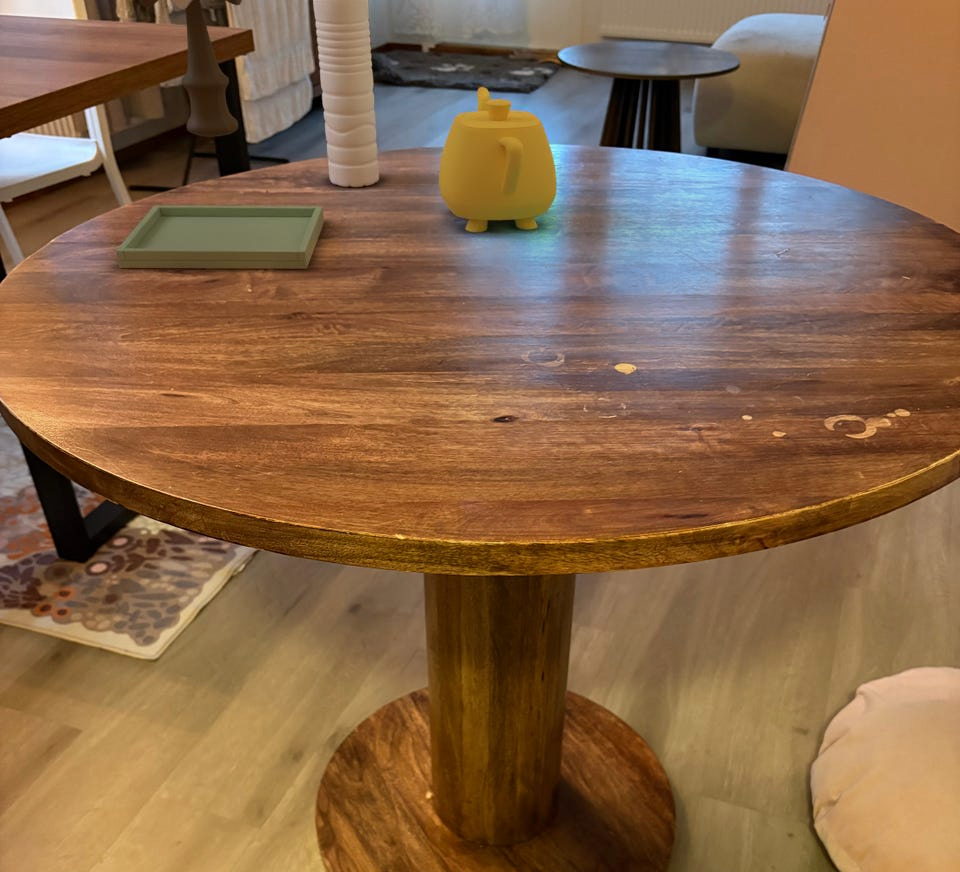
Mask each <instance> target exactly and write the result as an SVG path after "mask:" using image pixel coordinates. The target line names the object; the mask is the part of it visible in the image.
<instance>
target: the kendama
mask: <svg viewBox="0 0 960 872" xmlns="http://www.w3.org/2000/svg"><path fill="white" fill-rule="evenodd" d="M138 1H139V4H140V5H141V6H142V7H143V8H151V7H153V6H155V4H157V2H159V1H160V0H138ZM225 1H226V2H227V3H229V4H230V5H234V6H240V5H241V3H242V1H243V0H225ZM184 10H185V21H186V39H187V40H186V41H187V70H186V73H185V75H183V77H182V78H181V85H182V86H183V87H184V89H186V92H187V94H188V97H189V99H190V100H189V101H190V117H189V118H188V120H187V122H186V130H187V131H188V132H189V133H191V134H193V135H195V136H199V137H207V138H211V137H212V138H214V137H223V136H227V135H230V134H233V133H235V132H236V131H238V129H239V122H238V120H237V119H236V118H235V117H234V116H233V115H232V114H231V113H230V111H229V107H228V104H227V96H226V91H227V90H226V89H227V87H228V86H229V83H230V79H229V76H227V75H226V74H224V72H223V71H222V69H221V68H220V66H219V64H218V61H217V58H216V55H215V52H214V48H213V44H212V42H211V41H212V40H211V37H210V35H209V31H208V27H207V23H206V19H205V15H204V10H203V6H202V3H201V0H193V1H192V2H191V4H190V5H189V7H187V8H186V9H184Z"/></svg>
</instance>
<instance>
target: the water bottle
mask: <svg viewBox="0 0 960 872" xmlns="http://www.w3.org/2000/svg"><path fill="white" fill-rule="evenodd" d="M312 3H313V12H314V19H315V28H316V30H315V33H316V43H317V51H318V60H319V61H318V65H319V68H320V69H319V75H320V76H319V78H320V87H321V90H322V93H321V100H322V107H323V109H324V111H323V119H324V121H325V123H324V132H325V139H326V142H327V143H326V153H327V159H328V162H327V163H328V165H327V167H328V177H329V181H330V182H331V184H333V185H337V186H339V187H345V188H348V187H352V188H361V187H365V186H366V187H368V186H372V185H374V184H375V183H377V182H379V179H380V170H379V160H378V143H377V128H376V112H375V109H374V108H375V94H374V91H373V90H374V75H373V69H372V67H373V63H372V53H371V52H372V51H371V50H372V46H371V37H370V36H371V30H370V21H369V19H370V7H369V0H312Z"/></svg>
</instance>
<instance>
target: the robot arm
mask: <svg viewBox="0 0 960 872" xmlns="http://www.w3.org/2000/svg"><path fill="white" fill-rule="evenodd" d="M171 1H172V3H174V5H176V7H177V8H179V10H185V9H186V8H187V7H189V5H190V4H191V2H192V1H193V0H171Z"/></svg>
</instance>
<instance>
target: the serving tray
mask: <svg viewBox="0 0 960 872" xmlns="http://www.w3.org/2000/svg"><path fill="white" fill-rule="evenodd" d="M324 224H325V216H324V207H323V205H179V204H177V205H172V204H171V205H170V204H169V205H164V204H163V205H161V204H160V205H159V204H155V205H153V206H152V207H151V208H150V209H149V211H148V212H147V213H146V214H145V215H144V217H143V218H142V219H141V220H140V222H138V224H137V225H136V226H135V227H134V229H133V230H132V231H131V232H130V233H129V234H128V235H127V237H126V238H125V239H124V240H123V242H121V243H120V245H119V246H118V247H117V248H116V250H115V253H116V254H115V255H116V258H117V263H118V267H119V268H120V269H225V270H226V269H230V270H231V269H234V270H235V269H237V270H238V269H241V270H242V269H243V270H244V269H245V270H246V269H249V270H250V269H251V270H254V269H255V270H256V269H259V270H262V269H263V270H265V269H266V270H270V269H271V270H307V269H308V268H309V264H310V261H311V259H312V256H313V253H314V251H315V248H316V246H317V242H318V240H319V238H320V235H321V232H322V229H323V227H324Z"/></svg>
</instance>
